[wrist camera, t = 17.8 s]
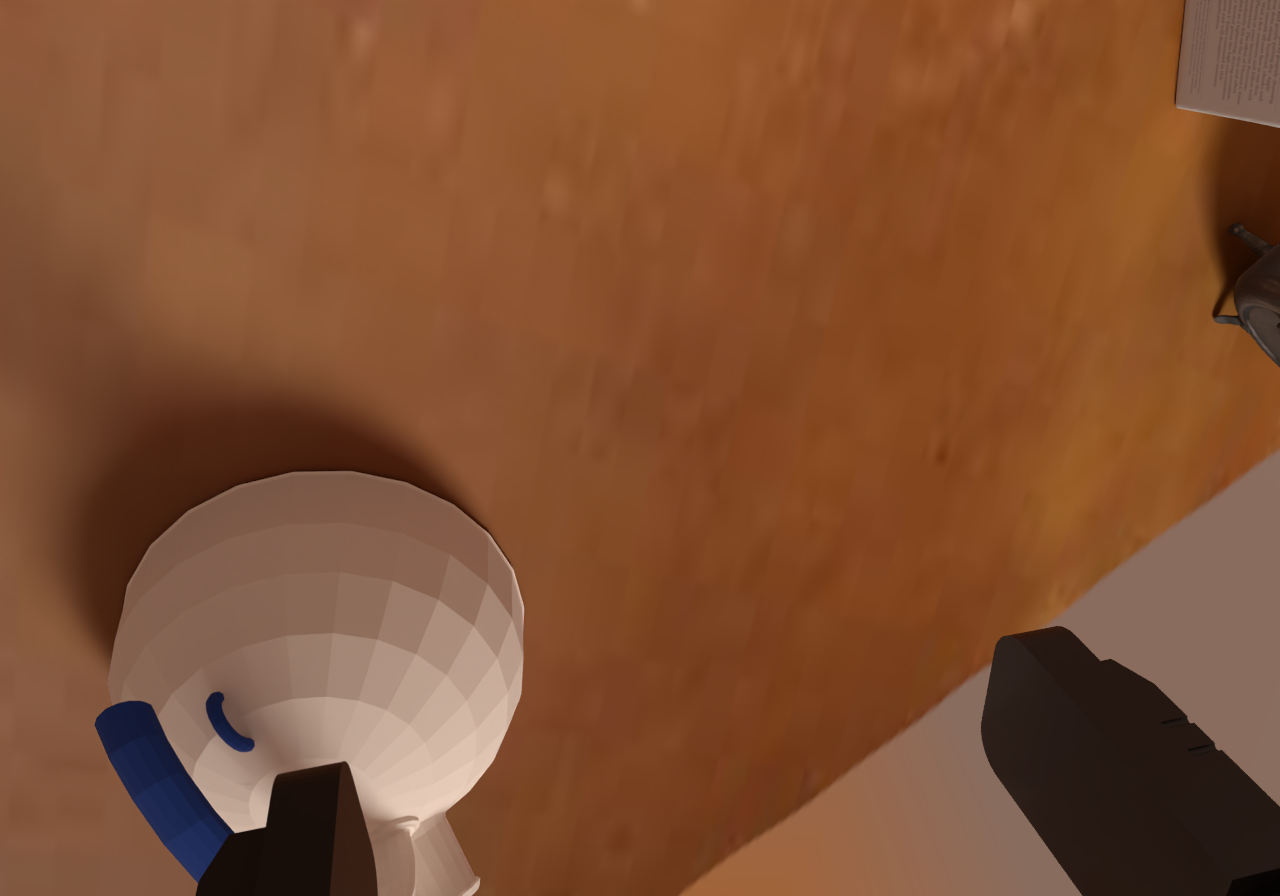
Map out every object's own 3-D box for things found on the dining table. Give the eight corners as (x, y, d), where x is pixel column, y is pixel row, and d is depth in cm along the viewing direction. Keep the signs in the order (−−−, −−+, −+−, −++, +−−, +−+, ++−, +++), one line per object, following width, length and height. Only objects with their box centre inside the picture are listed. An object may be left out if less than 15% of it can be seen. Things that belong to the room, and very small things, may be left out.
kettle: (316, 826, 55) (279, 1169, 40) (23, 617, 45) (-184, 971, 29) (596, 647, 53) (672, 932, 38) (358, 387, 43) (329, 632, 27)
